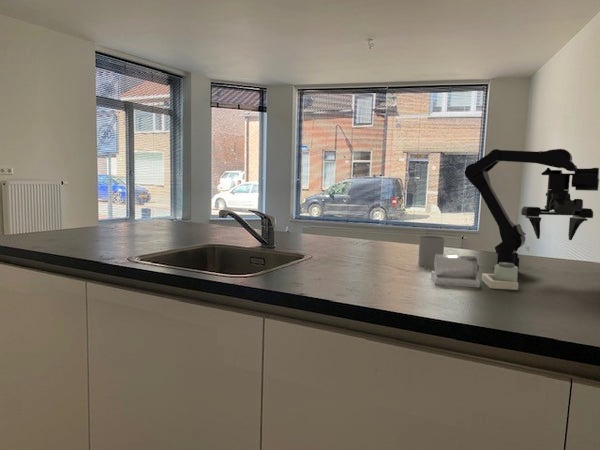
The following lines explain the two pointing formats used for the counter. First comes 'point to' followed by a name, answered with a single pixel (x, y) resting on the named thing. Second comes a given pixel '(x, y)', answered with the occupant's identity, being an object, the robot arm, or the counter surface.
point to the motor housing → (455, 271)
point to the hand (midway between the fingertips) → (554, 239)
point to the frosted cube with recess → (505, 272)
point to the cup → (430, 249)
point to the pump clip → (498, 283)
